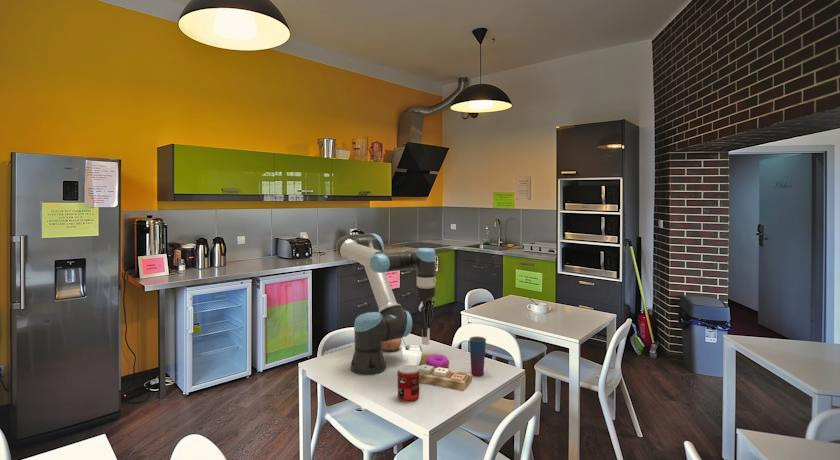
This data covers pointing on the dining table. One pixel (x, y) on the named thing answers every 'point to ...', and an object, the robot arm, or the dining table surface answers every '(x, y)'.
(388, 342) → the orange pumpkin
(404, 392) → the canned food
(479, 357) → the cup
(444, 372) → the button
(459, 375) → the button
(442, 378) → the panel
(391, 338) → the robot arm
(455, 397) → the dining table surface
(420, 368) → the button
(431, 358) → the donut
